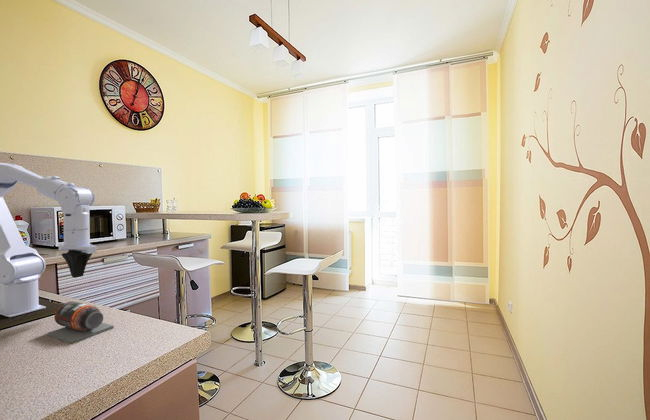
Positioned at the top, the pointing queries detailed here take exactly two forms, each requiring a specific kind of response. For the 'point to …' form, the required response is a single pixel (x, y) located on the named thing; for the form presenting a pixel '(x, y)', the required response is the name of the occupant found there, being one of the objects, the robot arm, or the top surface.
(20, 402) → the top surface
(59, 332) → the mat
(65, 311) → the supplement bottle
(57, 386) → the top surface
